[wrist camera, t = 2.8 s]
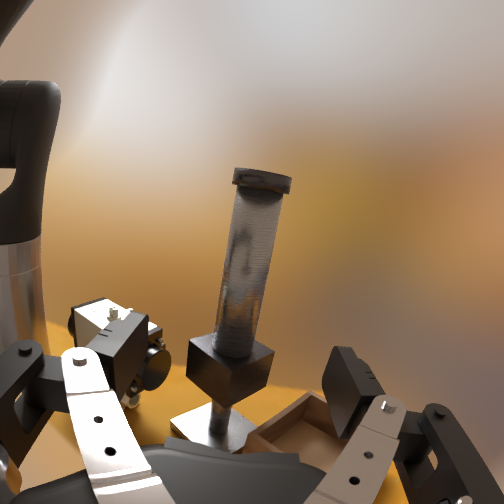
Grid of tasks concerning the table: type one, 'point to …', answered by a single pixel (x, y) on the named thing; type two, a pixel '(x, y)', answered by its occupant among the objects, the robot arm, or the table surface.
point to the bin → (300, 433)
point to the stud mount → (214, 427)
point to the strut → (241, 294)
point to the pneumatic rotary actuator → (94, 320)
